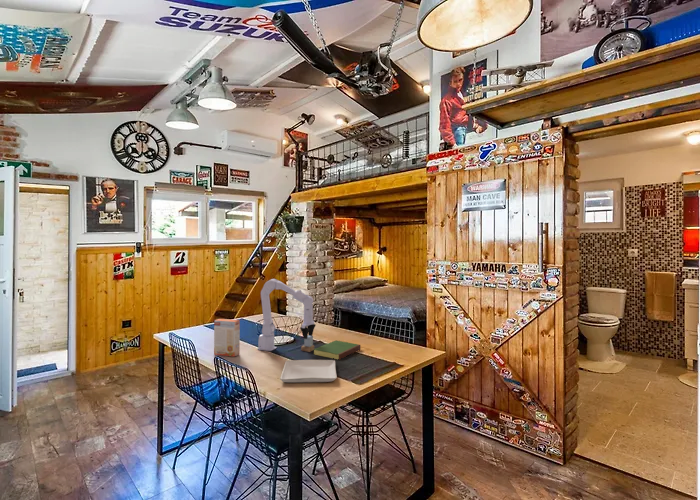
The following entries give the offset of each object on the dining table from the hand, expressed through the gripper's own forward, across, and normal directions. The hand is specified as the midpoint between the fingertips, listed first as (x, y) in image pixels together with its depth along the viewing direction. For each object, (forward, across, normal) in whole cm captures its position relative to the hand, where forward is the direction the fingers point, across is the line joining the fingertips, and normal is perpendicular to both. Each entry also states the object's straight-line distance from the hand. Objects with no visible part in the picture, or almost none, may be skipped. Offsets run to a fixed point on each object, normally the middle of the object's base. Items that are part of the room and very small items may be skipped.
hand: (307, 337), depth 238 cm
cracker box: (+8, -26, +41) cm, 49 cm away
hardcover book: (+9, +3, -19) cm, 21 cm away
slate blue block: (+5, 0, 0) cm, 5 cm away
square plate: (+9, -39, -19) cm, 44 cm away
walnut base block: (+8, 0, 0) cm, 8 cm away
